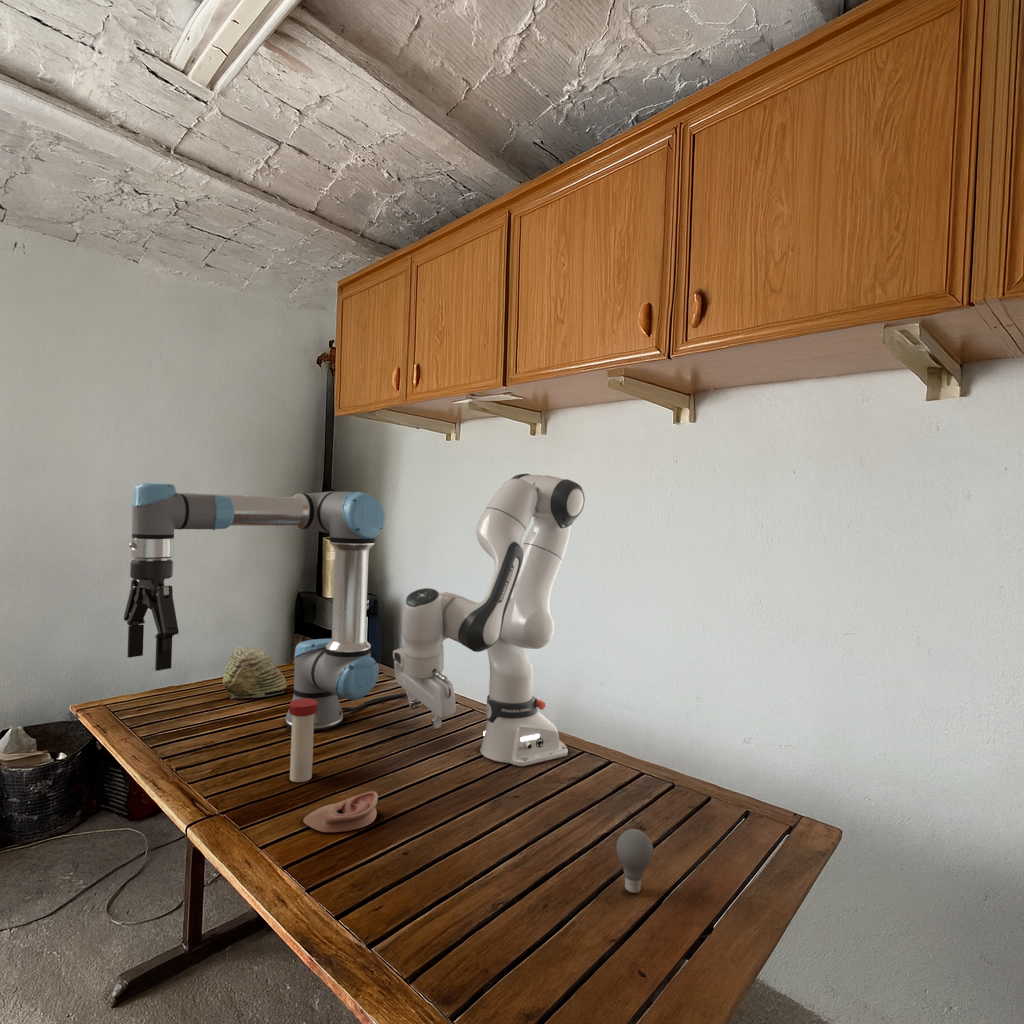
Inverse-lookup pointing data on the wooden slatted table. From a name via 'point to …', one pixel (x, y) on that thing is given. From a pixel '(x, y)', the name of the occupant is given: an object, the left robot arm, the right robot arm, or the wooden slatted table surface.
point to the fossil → (252, 674)
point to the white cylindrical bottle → (301, 748)
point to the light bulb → (634, 857)
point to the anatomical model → (344, 814)
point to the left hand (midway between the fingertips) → (148, 662)
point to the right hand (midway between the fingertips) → (425, 716)
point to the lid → (303, 707)
